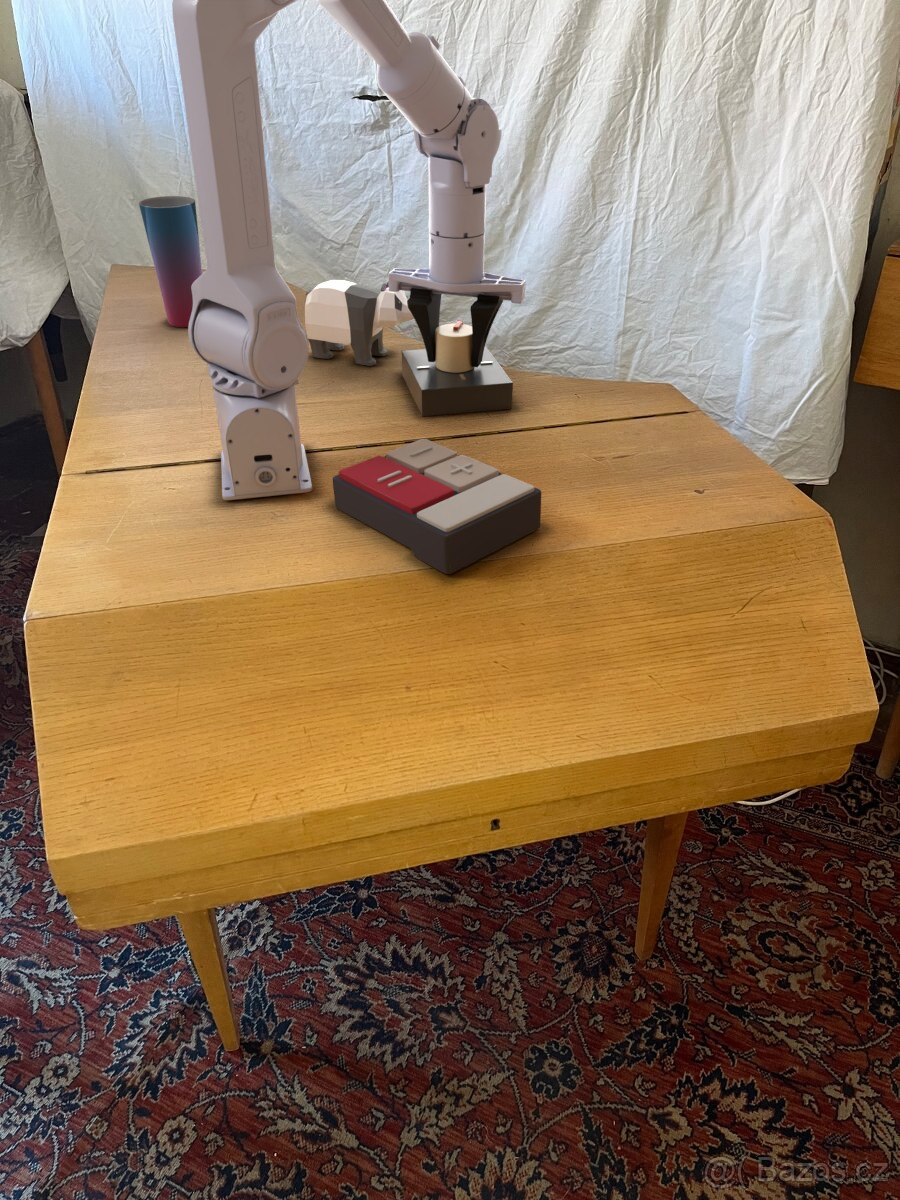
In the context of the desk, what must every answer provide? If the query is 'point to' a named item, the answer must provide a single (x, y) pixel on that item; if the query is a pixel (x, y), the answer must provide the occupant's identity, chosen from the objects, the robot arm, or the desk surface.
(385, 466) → the calculator
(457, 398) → the panel
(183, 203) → the cup
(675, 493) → the desk surface
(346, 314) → the giant panda
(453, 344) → the dial
